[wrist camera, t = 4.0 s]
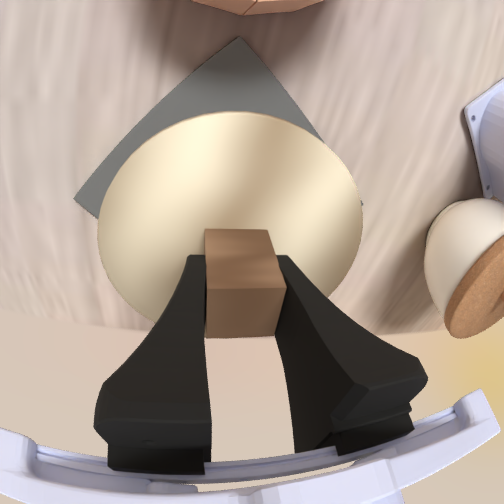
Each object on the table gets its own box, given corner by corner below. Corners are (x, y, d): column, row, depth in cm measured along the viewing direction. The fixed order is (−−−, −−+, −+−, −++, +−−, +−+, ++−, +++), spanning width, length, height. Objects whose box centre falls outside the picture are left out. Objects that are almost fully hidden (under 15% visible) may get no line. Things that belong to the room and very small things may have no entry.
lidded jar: (505, 192, 20) (570, 254, 13) (456, 278, 27) (501, 346, 19) (439, 160, 18) (531, 238, 11) (383, 273, 24) (433, 364, 17)
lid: (384, 132, 12) (446, 173, 8) (320, 322, 19) (341, 380, 15) (88, 112, 9) (35, 148, 6) (123, 326, 16) (114, 390, 13)
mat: (361, 202, 19) (363, 204, 19) (216, 304, 23) (216, 307, 23) (239, 36, 12) (239, 36, 12) (74, 196, 16) (73, 198, 16)
